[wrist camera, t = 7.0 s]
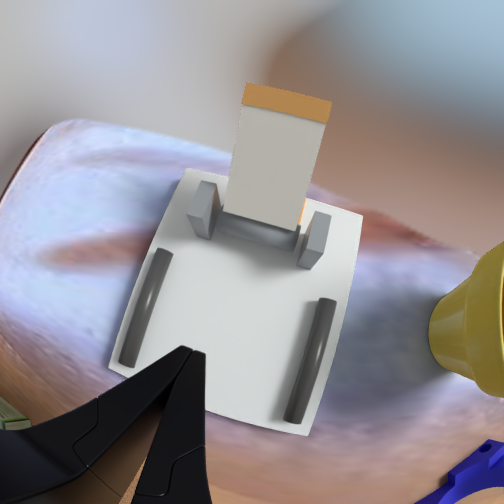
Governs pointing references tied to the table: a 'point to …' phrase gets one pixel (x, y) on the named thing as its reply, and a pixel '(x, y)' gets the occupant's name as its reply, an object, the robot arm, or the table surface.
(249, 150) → the lever
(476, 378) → the plant pot
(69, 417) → the robot arm
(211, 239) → the white base plate
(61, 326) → the table surface
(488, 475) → the cable clip
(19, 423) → the medication box
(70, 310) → the table surface
